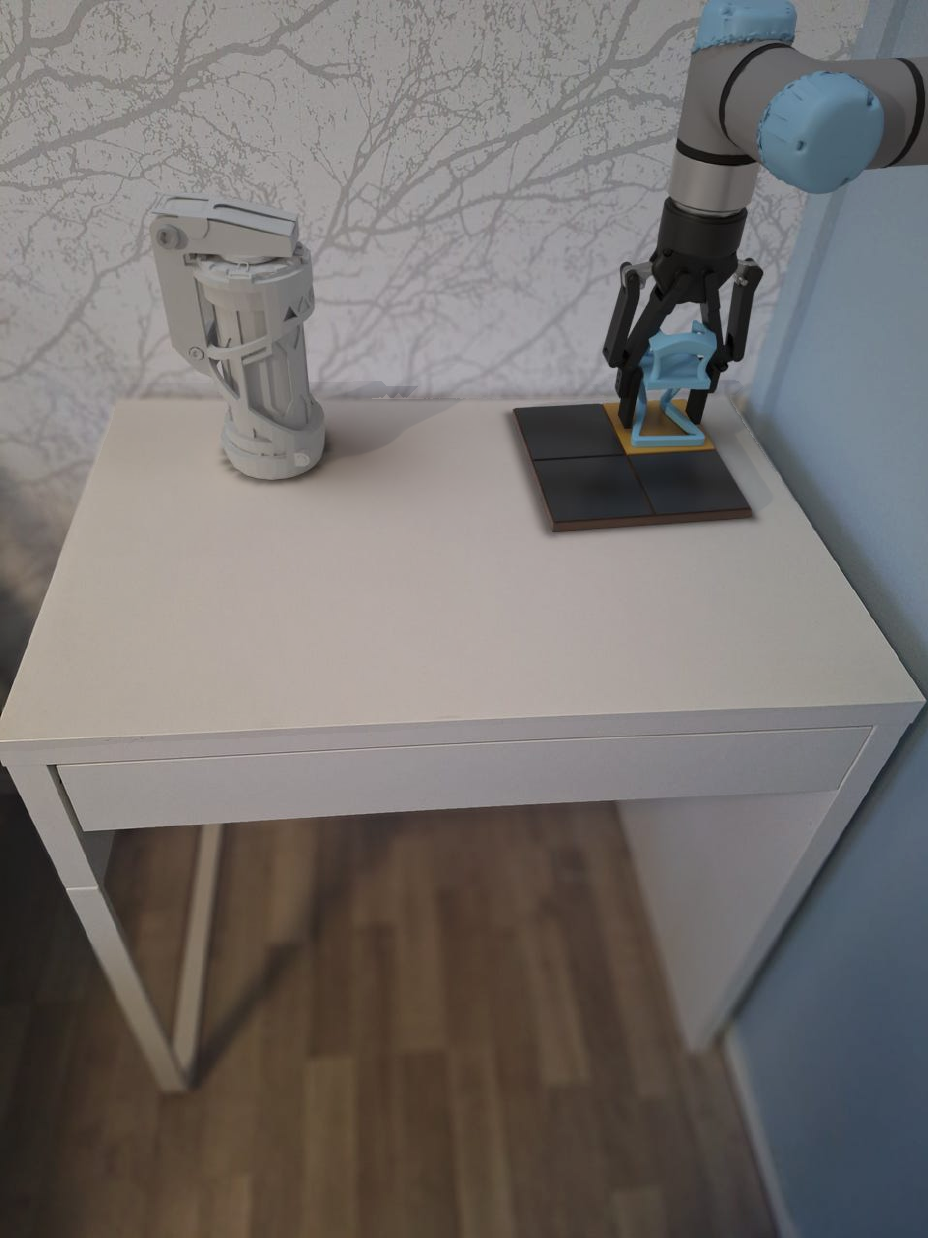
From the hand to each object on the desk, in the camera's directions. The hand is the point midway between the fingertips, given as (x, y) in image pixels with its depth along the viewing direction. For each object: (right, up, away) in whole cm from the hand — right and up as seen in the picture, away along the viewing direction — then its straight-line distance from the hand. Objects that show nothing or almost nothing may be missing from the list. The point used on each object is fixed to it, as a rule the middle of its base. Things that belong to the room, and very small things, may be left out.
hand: (658, 419), depth 99 cm
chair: (0, -1, +1) cm, 1 cm away
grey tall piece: (-42, -4, -4) cm, 42 cm away
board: (-4, -5, -3) cm, 7 cm away
